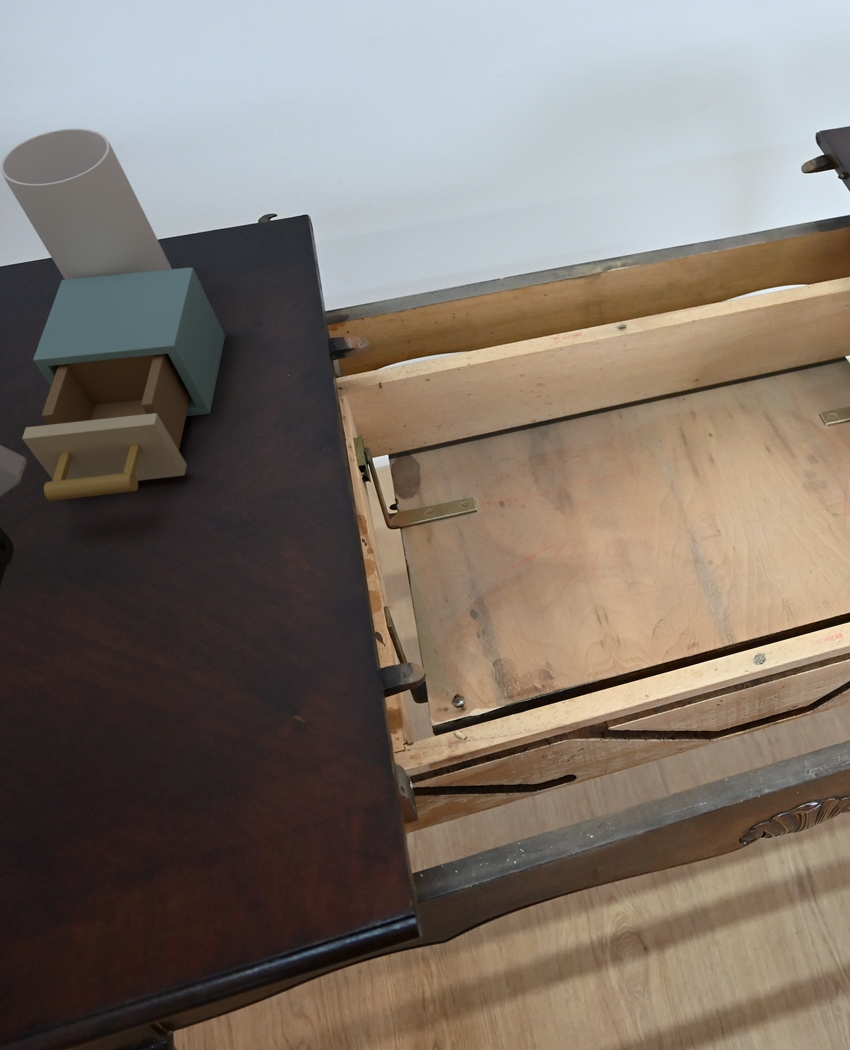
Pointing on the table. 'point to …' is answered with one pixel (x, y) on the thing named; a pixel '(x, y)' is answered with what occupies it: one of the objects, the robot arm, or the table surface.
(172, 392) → the drawer
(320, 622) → the table surface
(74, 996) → the table surface
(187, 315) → the cabinet
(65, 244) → the cup
